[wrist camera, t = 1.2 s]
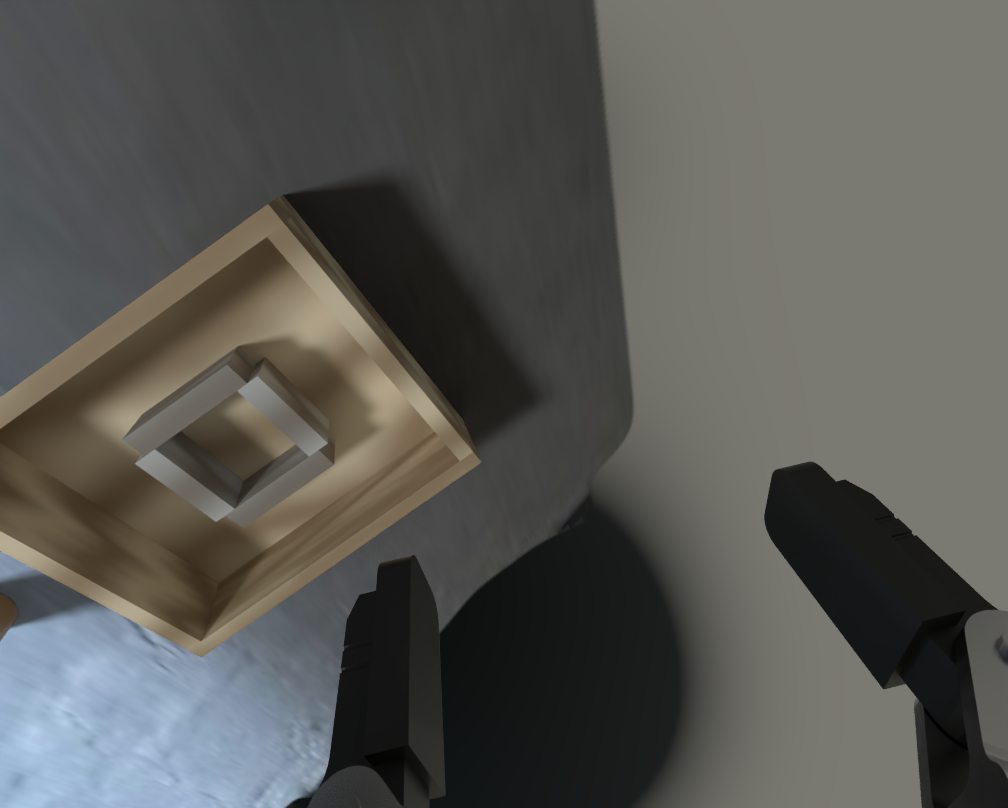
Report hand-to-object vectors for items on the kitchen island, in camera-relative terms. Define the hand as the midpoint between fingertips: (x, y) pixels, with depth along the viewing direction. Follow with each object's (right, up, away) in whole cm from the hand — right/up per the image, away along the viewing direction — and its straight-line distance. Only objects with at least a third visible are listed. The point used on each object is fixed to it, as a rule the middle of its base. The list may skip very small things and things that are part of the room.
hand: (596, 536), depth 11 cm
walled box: (-19, +2, +21) cm, 28 cm away
